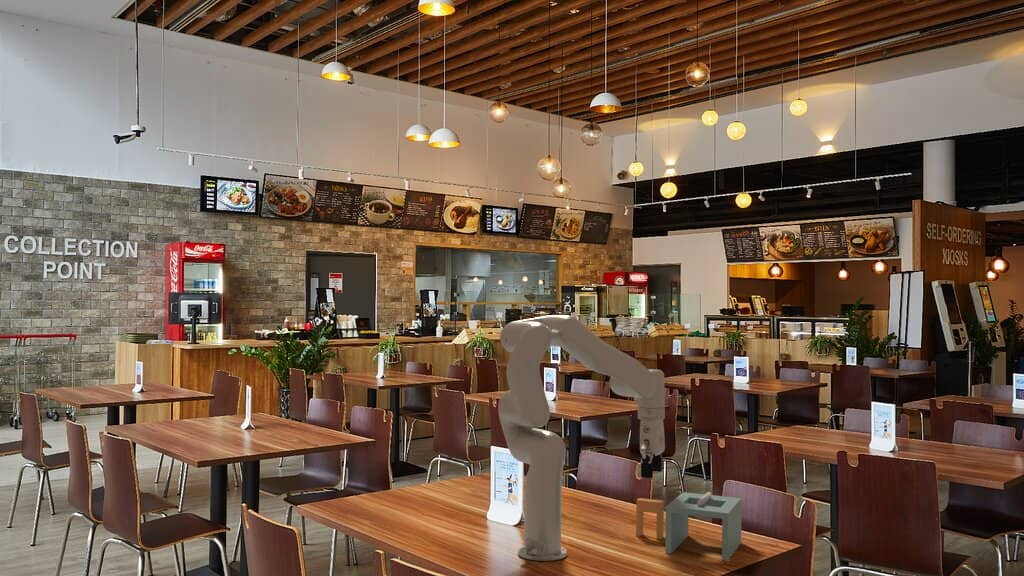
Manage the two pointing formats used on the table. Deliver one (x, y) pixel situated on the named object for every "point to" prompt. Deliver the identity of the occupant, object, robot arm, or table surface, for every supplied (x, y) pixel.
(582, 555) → the table surface
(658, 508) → the wooden arch bridge
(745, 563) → the table surface
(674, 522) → the shelf
